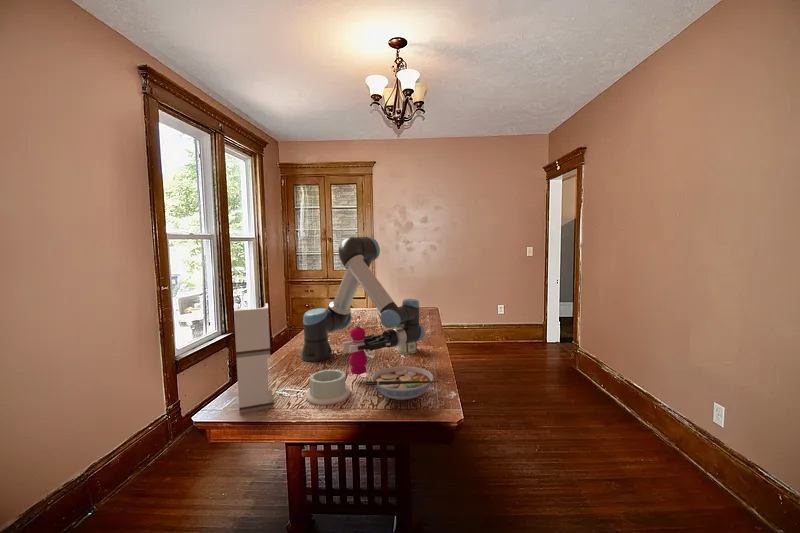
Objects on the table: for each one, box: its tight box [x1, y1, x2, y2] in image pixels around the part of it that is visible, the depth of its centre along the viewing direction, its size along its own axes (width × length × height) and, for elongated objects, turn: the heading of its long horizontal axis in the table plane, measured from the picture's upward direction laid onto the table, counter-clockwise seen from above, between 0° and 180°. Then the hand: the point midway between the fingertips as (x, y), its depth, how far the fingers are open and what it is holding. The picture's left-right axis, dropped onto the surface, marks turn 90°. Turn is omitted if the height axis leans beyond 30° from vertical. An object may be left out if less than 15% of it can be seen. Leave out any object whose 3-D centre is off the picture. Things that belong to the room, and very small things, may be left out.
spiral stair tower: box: [233, 302, 274, 414], centre depth 129 cm, size 11×11×35 cm
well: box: [305, 369, 351, 406], centre depth 135 cm, size 16×16×8 cm
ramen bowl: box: [365, 365, 439, 401], centre depth 133 cm, size 25×23×8 cm
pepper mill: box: [349, 323, 368, 375], centre depth 148 cm, size 7×7×20 cm
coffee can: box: [396, 324, 418, 355], centre depth 188 cm, size 10×10×14 cm
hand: (346, 347), depth 145 cm, fingers closed on pepper mill, 5 cm apart
